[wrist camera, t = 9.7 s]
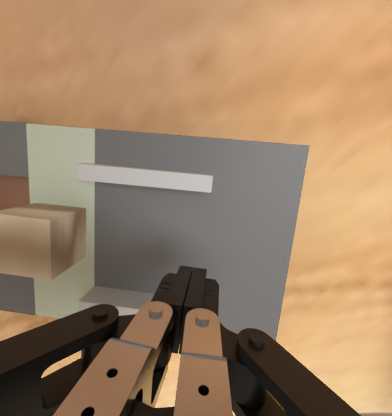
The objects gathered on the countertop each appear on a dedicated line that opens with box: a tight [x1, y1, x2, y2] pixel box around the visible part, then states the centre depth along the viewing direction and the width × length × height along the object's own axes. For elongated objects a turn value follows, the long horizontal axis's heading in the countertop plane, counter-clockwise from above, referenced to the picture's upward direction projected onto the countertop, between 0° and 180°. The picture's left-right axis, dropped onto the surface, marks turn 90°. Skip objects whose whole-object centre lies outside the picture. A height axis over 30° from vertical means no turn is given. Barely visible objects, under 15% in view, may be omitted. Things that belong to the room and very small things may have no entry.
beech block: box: [0, 203, 86, 280], centre depth 19 cm, size 4×4×4 cm
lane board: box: [0, 121, 309, 341], centre depth 22 cm, size 18×32×6 cm, turn 85°
